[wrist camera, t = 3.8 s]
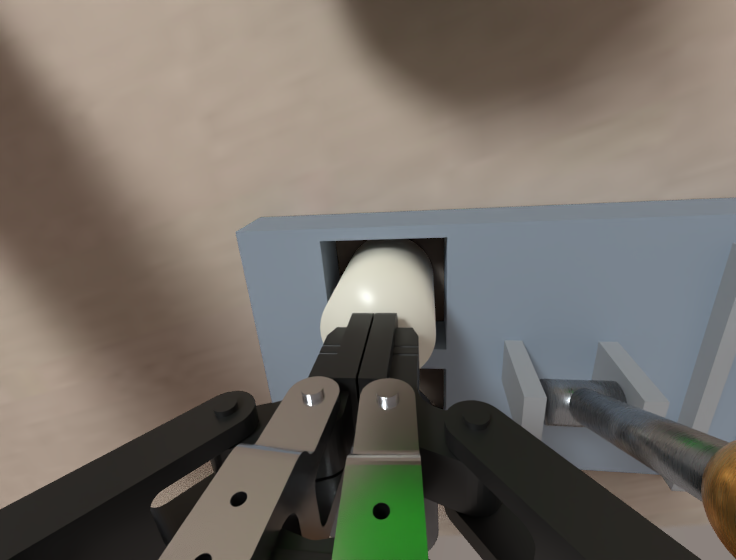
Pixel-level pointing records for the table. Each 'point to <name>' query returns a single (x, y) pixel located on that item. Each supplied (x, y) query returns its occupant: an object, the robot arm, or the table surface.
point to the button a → (387, 290)
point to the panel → (535, 307)
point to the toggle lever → (653, 444)
